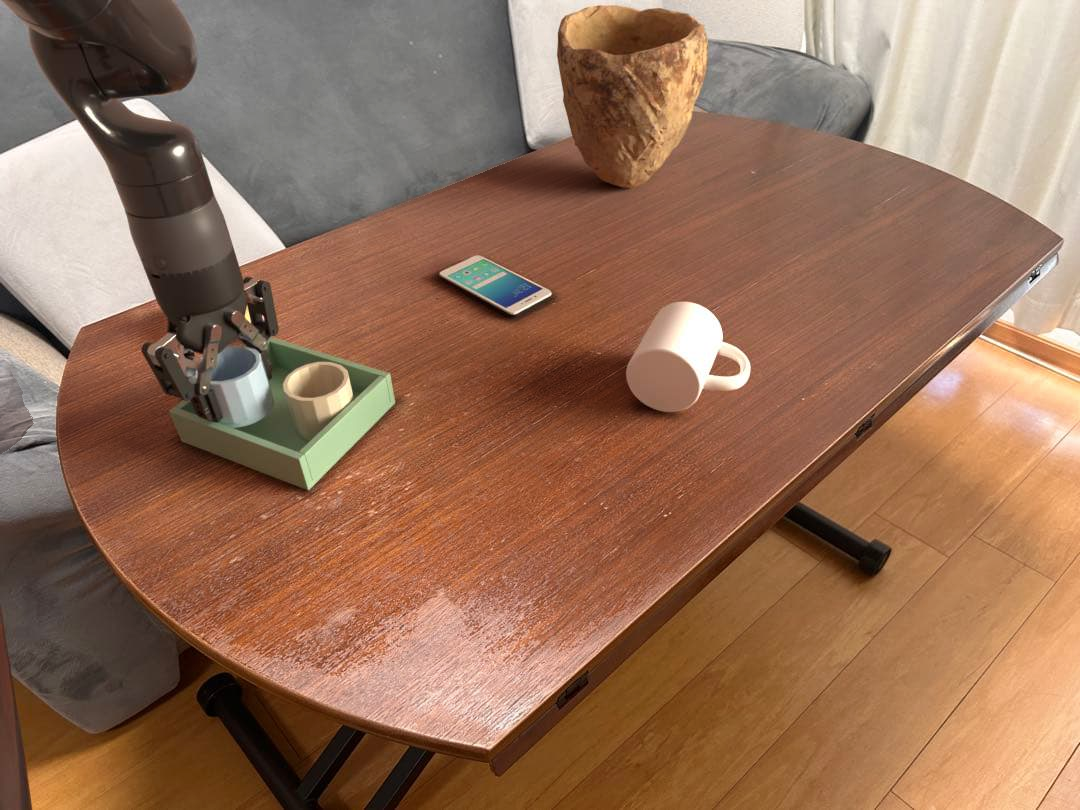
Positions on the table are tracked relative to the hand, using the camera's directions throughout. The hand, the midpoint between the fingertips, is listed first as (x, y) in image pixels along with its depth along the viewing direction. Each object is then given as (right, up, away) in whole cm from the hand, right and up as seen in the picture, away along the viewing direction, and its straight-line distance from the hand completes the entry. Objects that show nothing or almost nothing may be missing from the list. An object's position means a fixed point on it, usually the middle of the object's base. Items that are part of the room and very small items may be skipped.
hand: (238, 398), depth 76 cm
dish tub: (+4, -2, +4) cm, 6 cm away
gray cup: (0, -1, +1) cm, 1 cm away
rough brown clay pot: (+44, +36, +50) cm, 76 cm away
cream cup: (+8, -2, +3) cm, 9 cm away
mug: (+47, +1, +7) cm, 48 cm away
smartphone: (+24, +15, +24) cm, 37 cm away
